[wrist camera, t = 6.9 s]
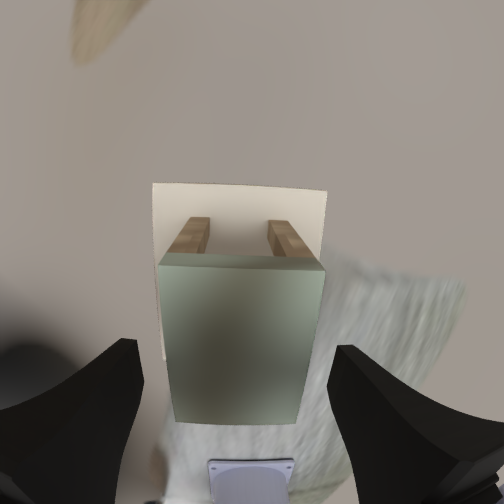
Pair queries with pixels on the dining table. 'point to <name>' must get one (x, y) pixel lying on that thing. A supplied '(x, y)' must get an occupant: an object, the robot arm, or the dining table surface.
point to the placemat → (234, 218)
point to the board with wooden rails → (238, 327)
